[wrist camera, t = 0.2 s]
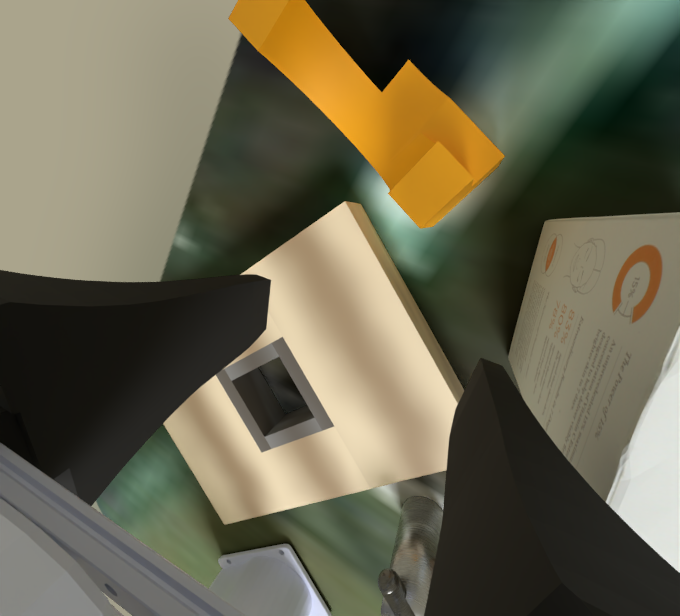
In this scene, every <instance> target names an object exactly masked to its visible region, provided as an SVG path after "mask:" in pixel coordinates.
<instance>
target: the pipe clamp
mask: <svg viewBox="0 0 680 616" xmlns="http://www.w3.org/2000/svg"><path fill="white" fill-rule="evenodd" d="M229 20H230V21H231V22H232V23H233V24H234V25H235V26H236V27H237V29H238V30H239V31H240V32H241V33H242V34H243V35H244V36H245V37H246V38H247V39H248V41H249V42H250V43H251V44H252V45H253V46H254V47H255V48H256V49H257V50H258V51H259V52H260V53H261V54H262V55H263V56H264V57H266V58H267V59H268V60H269V61H270V62H271V63H272V64H273V65H275V66H276V67H277V68H278V69H279V70H280V71H281V72H282V73H283V74H284V75H285V76H287V77H288V78H289V79H290V80H291V81H292V82H293V83H294V84H295V85H296V86H297V87H298V88H299V89H300V90H301V91H302V92H303V93H304V94H305V95H306V96H307V97H308V98H309V99H310V100H311V101H312V102H313V103H314V104H315V105H316V106H317V107H318V108H319V109H320V110H321V111H322V112H323V113H324V114H325V115H326V116H327V117H328V118H329V119H330V120H331V121H332V122H333V123H334V124H335V125H336V126H337V127H338V128H339V129H340V130H341V131H342V132H343V133H344V135H345V136H346V137H347V138H348V139H349V140H350V141H351V142H352V143H353V144H354V145H355V146H356V148H357V149H358V150H359V151H360V152H361V153H362V154H363V155H364V157H365V158H366V159H367V160H368V161H369V162H370V164H371V165H372V166H373V167H374V168H375V170H376V171H377V172H378V173H379V175H380V176H381V177H382V178H383V180H384V181H385V183H386V184H387V185H388V187H389V189H390V192H389V193H388V194H389V195H390V196H391V197H392V198H393V199H394V200H395V202H396V203H397V204H398V205H399V206H400V207H401V208H402V209H403V210H404V211H405V212H406V214H407V215H408V216H409V217H410V218H411V219H412V220H413V221H414V222H415V223H416V224H417V226H418V227H419V228H427V227H433V226H434V225H435V224H436V223H437V222H439V221H440V220H441V219H442V218H443V217H444V216H445V215H446V214H447V213H448V212H449V211H451V210H452V209H453V208H454V207H455V206H456V205H457V204H458V203H459V202H460V201H461V200H463V199H464V198H465V197H466V196H467V195H468V194H469V193H470V192H471V191H472V190H473V189H475V188H476V187H477V186H478V185H479V184H480V183H481V182H482V181H483V180H484V179H485V178H487V177H488V176H489V175H490V174H491V173H492V172H493V171H494V170H495V169H496V168H497V167H498V166H499V165H500V163H501V162H502V160H503V159H504V157H505V156H504V154H503V153H502V152H501V151H500V150H499V149H498V148H497V147H496V146H495V145H494V144H493V143H492V142H491V141H490V140H489V139H488V138H487V136H486V135H485V134H484V133H483V132H482V131H481V130H480V129H479V128H478V127H477V126H476V125H475V124H474V123H473V122H472V121H471V120H470V118H469V117H468V116H467V115H466V114H465V113H464V112H463V111H462V110H461V109H460V108H459V107H458V106H457V105H456V104H455V103H454V102H453V101H452V99H451V98H449V97H448V96H447V95H445V94H444V93H443V92H442V91H440V90H439V89H438V88H437V87H436V86H435V85H433V84H432V83H431V82H430V81H429V80H428V79H427V78H426V77H425V76H424V75H423V74H422V73H421V72H420V71H419V70H418V69H417V68H416V67H415V66H414V65H413V64H412V63H411V61H410V60H408V61H407V62H406V64H405V65H404V66H403V67H402V68H401V70H400V71H399V72H398V73H397V75H396V76H395V77H394V78H393V79H392V81H391V82H390V83H389V84H388V86H387V87H386V88H385V89H384V91H383V92H381V91H380V90H379V89H378V88H377V87H376V86H375V85H374V83H373V82H372V81H371V80H370V79H369V78H368V77H367V76H366V74H365V73H364V72H363V71H362V70H361V69H360V68H359V66H358V65H357V64H356V63H355V62H354V61H353V59H352V58H351V57H350V56H349V55H348V54H347V52H346V51H345V50H344V49H343V48H342V46H341V45H340V44H339V43H338V42H337V40H336V39H335V38H334V37H333V35H332V34H331V33H330V32H329V31H328V29H327V28H326V27H325V26H324V24H323V23H322V22H321V20H320V19H319V18H318V17H317V15H316V14H315V13H314V12H313V10H312V9H311V8H310V6H309V5H308V4H307V2H306V1H305V0H238V2H237V4H236V5H235V7H234V9H233V11H232V13H231V15H230V17H229Z"/></svg>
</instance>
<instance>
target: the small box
mask: <svg viewBox="0 0 680 616" xmlns="http://www.w3.org/2000/svg"><path fill="white" fill-rule="evenodd" d="M508 359H509V362H510V364H511V367H512V370H513V373H514V376H515V378H516V380H517V383H518V386H519V389H520V391H521V394H522V397H523V399H524V401H525V403H526V404H527V406H528V407H529V409H530V410H531V412H532V413H533V415H534V416H535V417H536V419H537V420H538V422H539V423H540V425H541V426H542V427H543V429H544V430H545V431H546V433H547V434H548V435H549V437H550V438H551V439H552V441H553V442H554V443H555V445H556V446H557V447H558V449H559V450H560V451H561V452H562V454H563V455H564V456H565V457H566V459H567V460H568V461H569V462H570V463H571V464H572V466H573V467H574V468H575V469H576V470H577V471H578V472H579V474H580V475H581V476H582V477H583V478H584V479H585V480H586V482H587V483H588V484H589V485H590V486H591V487H592V488H593V489H594V490H595V492H596V493H597V494H598V495H599V496H600V497H601V498H602V499H603V500H604V501H605V502H606V503H607V504H608V505H609V506H610V507H611V508H612V509H613V510H614V511H615V512H616V513H617V514H618V515H619V516H620V517H621V518H622V519H623V520H624V521H625V522H626V523H627V524H628V525H629V526H630V527H631V528H632V529H633V530H634V531H635V532H636V533H637V534H638V535H639V536H640V537H641V538H642V539H643V540H644V541H645V542H646V543H647V544H648V545H650V546H651V547H652V548H653V549H654V550H655V551H656V552H657V553H658V554H659V555H660V556H661V557H662V558H663V559H665V560H666V561H667V562H668V563H669V564H670V565H671V566H672V567H674V568H675V569H676V570H677V571H678V572H679V573H680V212H677V213H658V214H639V215H621V216H605V217H581V218H564V219H551V220H547V221H545V222H544V225H543V229H542V232H541V236H540V239H539V243H538V247H537V250H536V254H535V257H534V261H533V264H532V268H531V272H530V275H529V279H528V283H527V286H526V290H525V294H524V298H523V302H522V305H521V309H520V313H519V317H518V320H517V324H516V328H515V332H514V336H513V339H512V343H511V347H510V352H509V355H508Z"/></svg>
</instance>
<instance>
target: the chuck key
mask: <svg viewBox="0 0 680 616" xmlns="http://www.w3.org/2000/svg"><path fill="white" fill-rule="evenodd" d="M442 517H443V511H442V509H441V508H440V507H439V506H438V505H437V504H436V503H435V502H433V501H432V500H430V499H428V498H425V497H419V496H416V497H411V498H409V499H407V500H406V501H405V502H404V504H403V507H402V511H401V516H400V521H399V526H398V530H397V535H396V540H395V545H394V549H393V554H392V559H391V564H390V568H387V569H384V570H383V571H382V572H381V573H380V575H379V577H378V586H379V589H380V591H381V593H382V594H383V596H384V597H383V602H382V606H381V615H382V616H424V613H425V608H426V603H427V598H428V593H429V588H430V583H431V578H432V573H433V568H434V563H435V558H436V552H437V547H438V541H439V536H440V531H441V525H442Z"/></svg>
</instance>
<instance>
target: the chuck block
mask: <svg viewBox="0 0 680 616" xmlns="http://www.w3.org/2000/svg"><path fill="white" fill-rule="evenodd" d="M244 274H256V275H259V276H262V277H265V278H267V279H270V280H271V287H270V297H269V307H268V316H267V326H266V330H265V331H264V332H263V333H262V334H261V336H260V337H259V338H258V339H257V340H256V341H255V342H254V343H253V344H252V345H251V346H250V347H249V348H248V349H247V350H246V351H245V352H244V353H242V354H241V355H240V356H239V357H237V358H236V359H235V360H234V361H233V362H231V363H230V364H229V365H228V366H226V367H225V368H224V369H222V370H221V371H220V372H219V373H217V374H216V375H215V376H214V377H212V378H211V379H210V380H209V381H207V382H206V383H205V384H204V385H202V386H201V387H200V388H199V389H198V390H197V391H195V392H194V393H193V394H192V395H191V396H190V397H189V398H188V399H187V400H186V401H185V402H184V403H183V404H182V405H181V406H180V407H179V408H178V409H177V410H176V411H175V412H174V413H173V414H172V415H171V416H170V417H169V418H168V419H167V420H166V421H165V422H164V423H163V424H164V426H165V427H166V429H167V431H168V432H169V434H170V436H171V437H172V439H173V441H174V442H175V444H176V446H177V447H178V449H179V450H180V452H181V454H182V455H183V457H184V459H185V460H186V462H187V464H188V465H189V467H190V469H191V470H192V472H193V474H194V475H195V477H196V479H197V480H198V482H199V484H200V485H201V487H202V489H203V490H204V492H205V494H206V495H207V497H208V498H209V500H210V502H211V503H212V505H213V507H214V508H215V510H216V512H217V513H218V515H219V517H220V518H221V520H222V522H223V523H224V525H226V524H230V523H234V522H238V521H242V520H246V519H250V518H255V517H259V516H263V515H267V514H271V513H275V512H279V511H283V510H287V509H291V508H295V507H299V506H303V505H307V504H311V503H315V502H319V501H323V500H327V499H331V498H335V497H339V496H343V495H348V494H352V493H356V492H360V491H364V490H368V489H372V488H376V487H380V486H384V485H388V484H392V483H396V482H400V481H404V480H408V479H412V478H416V477H420V476H424V475H428V474H432V473H436V472H440V471H445V470H447V458H448V446H449V436H450V432H451V427H452V422H453V418H454V414H455V409H456V407H457V405H458V403H459V401H460V399H461V397H462V395H463V392H464V389H463V387H462V385H461V383H460V382H459V380H458V378H457V376H456V374H455V373H454V371H453V369H452V367H451V365H450V364H449V362H448V360H447V358H446V356H445V355H444V353H443V351H442V349H441V347H440V346H439V344H438V342H437V340H436V338H435V337H434V335H433V333H432V331H431V329H430V328H429V326H428V324H427V322H426V320H425V319H424V317H423V315H422V313H421V311H420V310H419V308H418V306H417V304H416V302H415V301H414V299H413V297H412V295H411V293H410V292H409V290H408V288H407V286H406V284H405V282H404V281H403V279H402V277H401V275H400V273H399V272H398V270H397V268H396V266H395V264H394V263H393V261H392V259H391V257H390V255H389V254H388V252H387V250H386V248H385V246H384V245H383V243H382V241H381V239H380V237H379V236H378V234H377V232H376V230H375V228H374V227H373V225H372V223H371V221H370V219H369V218H368V216H367V214H366V212H365V210H364V209H363V207H362V205H361V204H358V203H353V202H347V201H344V202H343V203H341V204H340V205H339V206H337V207H336V208H334V209H333V210H332V211H330V212H329V213H327V214H326V215H324V216H323V217H322V218H320V219H319V220H317V221H316V222H314V223H313V224H312V225H310V226H309V227H307V228H306V229H304V230H303V231H302V232H300V233H299V234H297V235H296V236H295V237H293V238H292V239H290V240H289V241H287V242H286V243H285V244H283V245H282V246H280V247H279V248H277V249H276V250H275V251H273V252H272V253H270V254H269V255H267V256H266V257H265V258H263V259H262V260H260V261H259V262H258V263H256V264H255V265H253V266H252V267H250V268H249V269H248V270H246V271H245V272H243V273H242V274H240V275H244ZM277 357H280V359H281V361H282V362H283V364H284V366H285V367H286V369H287V371H288V373H289V374H290V376H291V378H292V379H293V381H294V383H295V385H296V386H297V388H298V390H299V392H300V393H301V395H302V397H303V398H304V400H305V402H306V404H307V406H305V407H302V408H300V409H297V410H295V411H292V412H290V413H287V414H285V413H284V411H283V410H282V408H281V406H280V404H279V403H278V401H277V399H276V398H275V396H274V394H273V392H272V391H271V389H270V387H269V386H268V384H267V382H266V380H265V379H264V377H263V375H262V374H261V372H260V370H259V369H258V367H260V366H261V365H263V364H265V363H267V362H269V361H271V360H273V359H275V358H277Z"/></svg>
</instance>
